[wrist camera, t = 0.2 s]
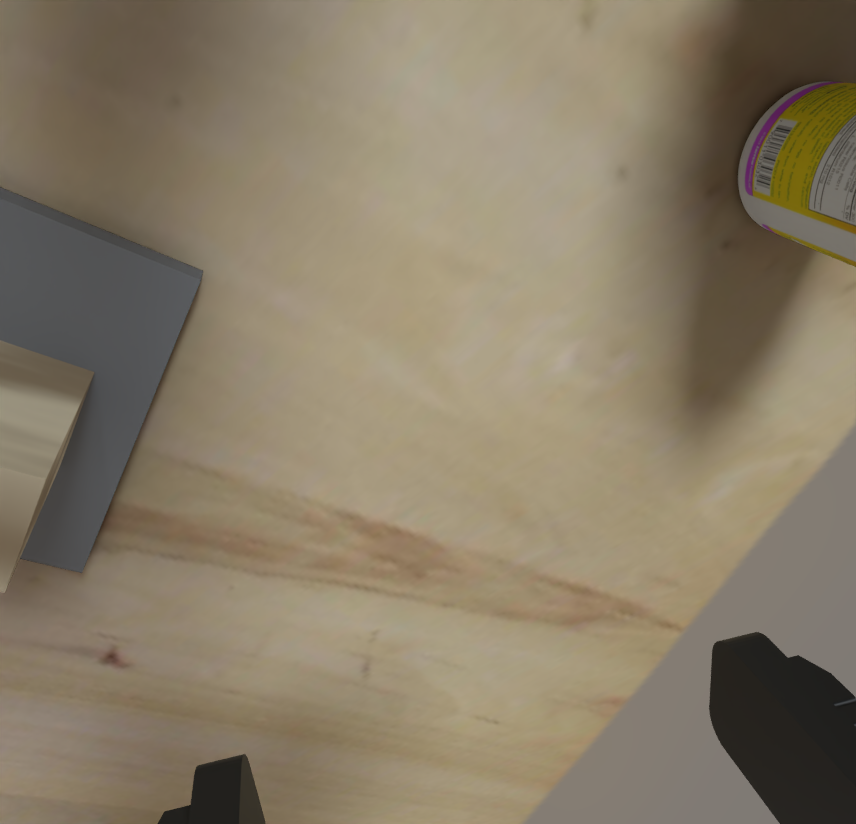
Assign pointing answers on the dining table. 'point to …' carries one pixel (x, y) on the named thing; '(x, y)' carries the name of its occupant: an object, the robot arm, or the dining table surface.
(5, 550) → the birch block
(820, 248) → the supplement bottle
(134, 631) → the dining table surface
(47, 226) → the board
